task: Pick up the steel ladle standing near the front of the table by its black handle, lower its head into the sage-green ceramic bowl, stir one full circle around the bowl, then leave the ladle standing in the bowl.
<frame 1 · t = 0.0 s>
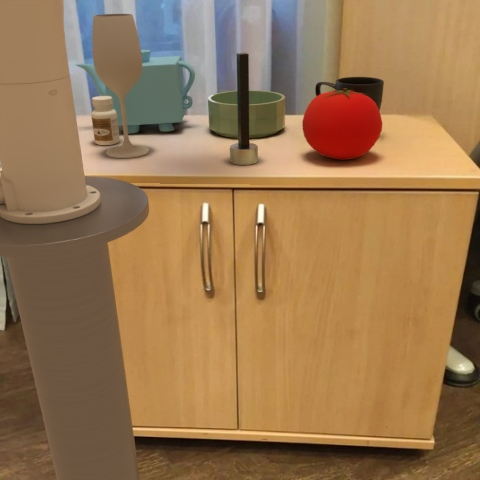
bowl: (246, 130, 114), on the table
mug: (345, 135, 110), on the table
tomato: (339, 157, 97), on the table
wineglass: (128, 153, 102), on the table
ladle: (244, 161, 96), on the table
pill bottle: (107, 143, 108), on the table
teapot: (143, 128, 117), on the table
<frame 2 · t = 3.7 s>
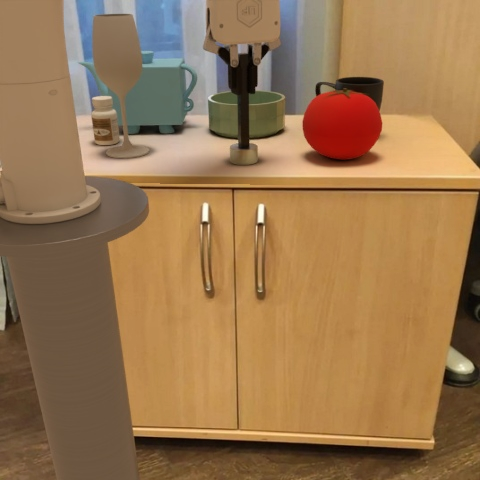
hand: (243, 92, 91), 11 cm above the table, tool pointing down, fingers closed on ladle
ladle: (244, 161, 96), on the table, touching gripper
everything else where it was.
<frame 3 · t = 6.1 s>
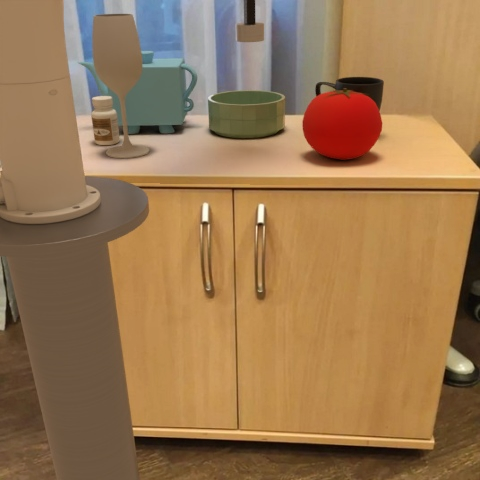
ladle: (250, 40, 94), point 17 cm above the table, touching gripper
everything else where it was.
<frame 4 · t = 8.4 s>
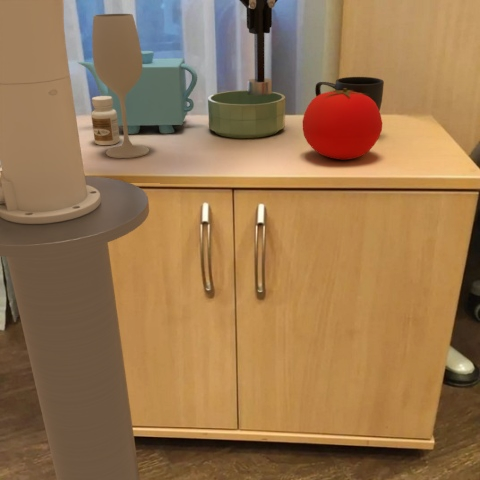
hand: (259, 32, 107), 17 cm above the table, tool pointing down, fingers closed on ladle
ladle: (259, 93, 112), point 6 cm above the table, touching gripper
everything else where it was.
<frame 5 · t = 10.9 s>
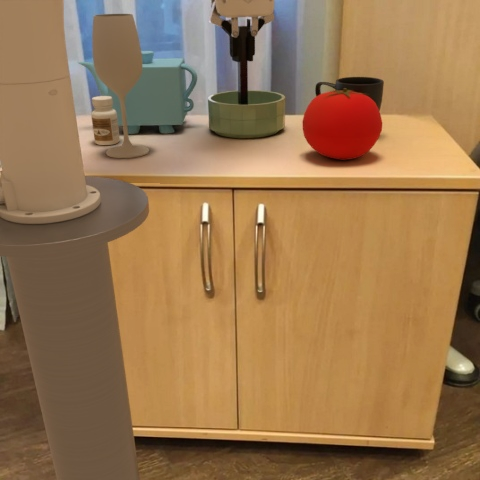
hand: (242, 60, 106), 13 cm above the table, tool pointing down, fingers closed on ladle
ladle: (243, 120, 111), point 2 cm above the table, touching gripper
everything else where it was.
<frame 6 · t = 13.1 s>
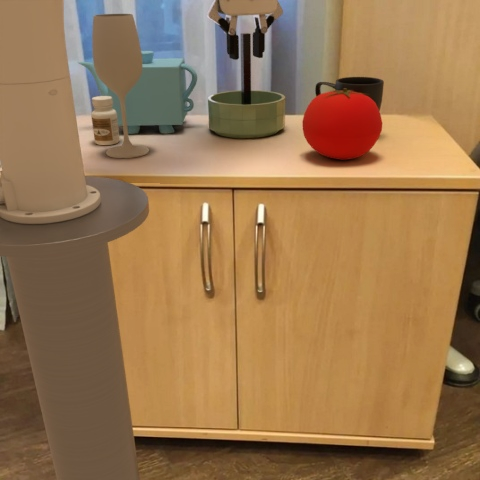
hand: (245, 56, 108), 13 cm above the table, tool pointing down, fingers open, 3 cm apart
ladle: (246, 125, 114), point 1 cm above the table, touching bowl
everything else where it was.
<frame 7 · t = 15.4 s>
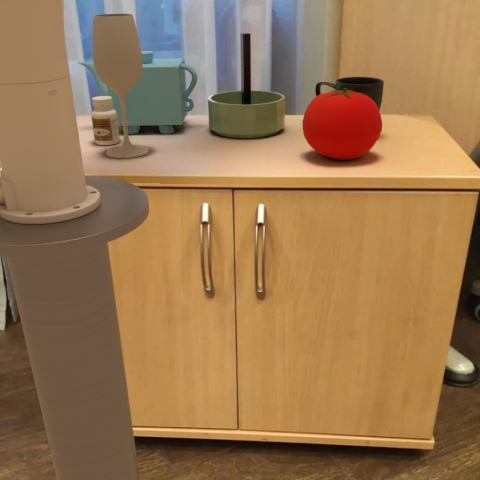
nothing on the table moved.
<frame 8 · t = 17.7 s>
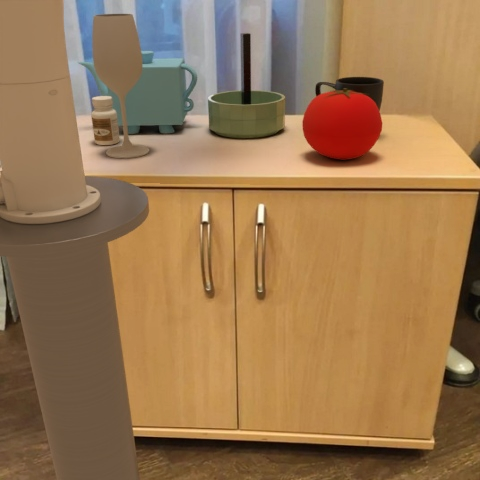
nothing on the table moved.
at the end: ladle inside the target area in the bowl (0.1 cm from its centre), point 0.8 cm above the bowl's base; ladle moved 20.5 cm from its start; the gripper is holding nothing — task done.
